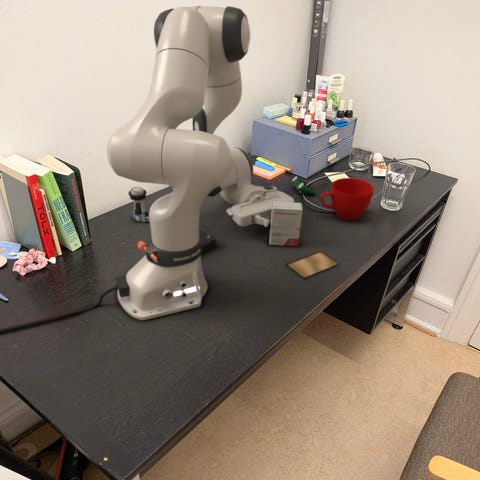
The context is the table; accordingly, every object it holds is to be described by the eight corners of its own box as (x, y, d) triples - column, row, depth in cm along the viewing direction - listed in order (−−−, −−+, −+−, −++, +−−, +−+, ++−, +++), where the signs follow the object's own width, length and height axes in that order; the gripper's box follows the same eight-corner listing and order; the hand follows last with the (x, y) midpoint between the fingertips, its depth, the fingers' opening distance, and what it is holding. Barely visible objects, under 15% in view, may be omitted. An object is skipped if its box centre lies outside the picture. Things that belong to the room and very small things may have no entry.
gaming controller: (298, 190, 163) (288, 180, 159) (305, 182, 161) (296, 172, 158) (308, 201, 156) (298, 191, 152) (316, 193, 155) (306, 183, 151)
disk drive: (216, 246, 129) (182, 227, 136) (216, 237, 127) (182, 219, 134) (190, 260, 123) (156, 239, 130) (190, 251, 121) (155, 231, 128)
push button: (156, 219, 139) (153, 189, 133) (144, 226, 136) (141, 196, 129) (140, 213, 142) (136, 184, 135) (128, 220, 138) (124, 190, 132)
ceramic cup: (309, 209, 147) (313, 180, 141) (355, 204, 151) (362, 176, 145) (325, 228, 138) (330, 198, 132) (374, 222, 142) (381, 193, 135)
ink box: (297, 238, 133) (302, 202, 125) (298, 247, 130) (303, 210, 122) (269, 236, 134) (272, 200, 126) (268, 245, 130) (272, 208, 122)
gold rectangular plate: (304, 278, 118) (304, 277, 118) (287, 265, 122) (288, 264, 122) (337, 264, 123) (337, 263, 123) (320, 253, 127) (320, 252, 127)
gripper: (223, 200, 130) (250, 219, 121) (278, 184, 139) (307, 202, 130) (223, 219, 134) (249, 239, 125) (276, 203, 143) (304, 221, 134)
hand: (279, 220), depth 128 cm, fingers open, 6 cm apart
